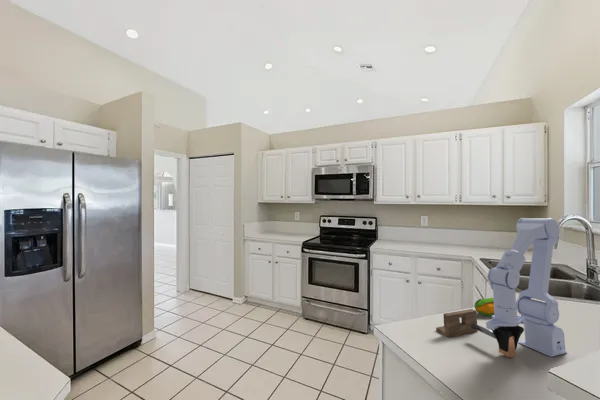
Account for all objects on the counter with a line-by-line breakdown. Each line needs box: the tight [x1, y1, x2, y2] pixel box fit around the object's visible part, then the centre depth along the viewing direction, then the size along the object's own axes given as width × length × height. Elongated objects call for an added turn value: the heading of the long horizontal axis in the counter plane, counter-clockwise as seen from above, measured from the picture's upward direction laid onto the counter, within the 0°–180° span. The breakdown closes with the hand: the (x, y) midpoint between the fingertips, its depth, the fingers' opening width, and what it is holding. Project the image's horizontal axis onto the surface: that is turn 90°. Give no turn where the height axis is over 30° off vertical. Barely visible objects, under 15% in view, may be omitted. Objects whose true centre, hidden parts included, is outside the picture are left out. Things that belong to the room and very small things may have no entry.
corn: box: [473, 297, 495, 317], centre depth 115 cm, size 7×8×20 cm
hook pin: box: [471, 323, 517, 358], centre depth 87 cm, size 13×3×6 cm, turn 16°
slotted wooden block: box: [435, 308, 479, 339], centre depth 100 cm, size 6×14×8 cm, turn 106°
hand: (507, 349), depth 81 cm, fingers closed on hook pin, 3 cm apart
